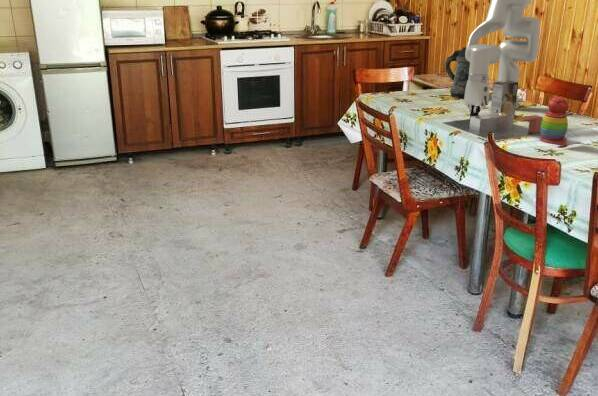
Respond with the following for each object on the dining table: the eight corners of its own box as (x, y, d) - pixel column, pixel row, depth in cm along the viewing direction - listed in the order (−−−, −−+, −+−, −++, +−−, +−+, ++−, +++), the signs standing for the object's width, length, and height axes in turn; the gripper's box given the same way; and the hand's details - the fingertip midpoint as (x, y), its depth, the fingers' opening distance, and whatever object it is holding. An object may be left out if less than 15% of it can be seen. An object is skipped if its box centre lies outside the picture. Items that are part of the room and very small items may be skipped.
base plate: (489, 118, 260) (489, 116, 260) (543, 135, 233) (543, 132, 233) (441, 124, 250) (441, 122, 250) (492, 143, 223) (492, 140, 223)
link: (501, 123, 247) (503, 112, 246) (512, 126, 242) (514, 115, 240) (469, 128, 241) (470, 116, 239) (479, 131, 236) (480, 119, 234)
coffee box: (504, 115, 266) (508, 79, 261) (514, 117, 261) (519, 82, 255) (489, 117, 262) (493, 81, 257) (499, 120, 257) (503, 84, 251)
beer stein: (485, 99, 299) (491, 49, 290) (448, 99, 299) (452, 50, 290) (477, 93, 314) (481, 45, 305) (441, 93, 315) (444, 46, 305)
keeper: (533, 130, 237) (535, 115, 235) (540, 132, 234) (542, 116, 232) (514, 132, 233) (516, 117, 231) (520, 134, 230) (522, 119, 228)
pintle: (501, 125, 245) (503, 112, 243) (505, 126, 243) (507, 113, 241) (496, 125, 244) (498, 112, 242) (501, 127, 242) (502, 114, 240)
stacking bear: (566, 148, 216) (574, 100, 209) (537, 145, 220) (544, 99, 213) (567, 141, 225) (574, 95, 219) (539, 138, 229) (545, 93, 222)
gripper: (498, 79, 235) (493, 123, 242) (471, 74, 248) (467, 116, 254) (484, 81, 232) (480, 126, 239) (458, 76, 244) (454, 118, 251)
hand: (473, 121), depth 246 cm, fingers closed
